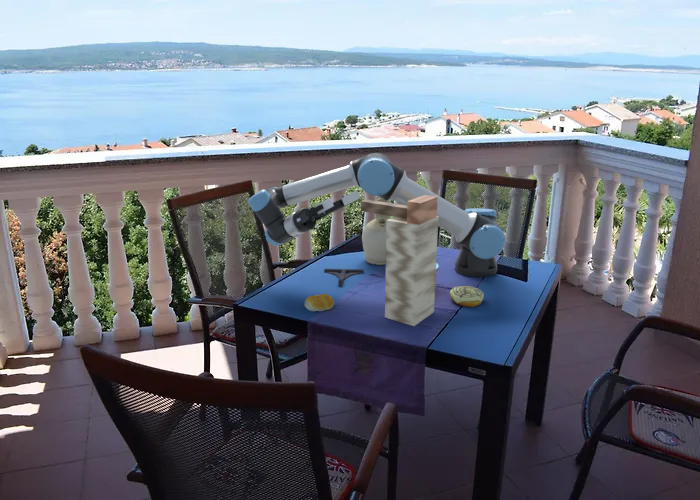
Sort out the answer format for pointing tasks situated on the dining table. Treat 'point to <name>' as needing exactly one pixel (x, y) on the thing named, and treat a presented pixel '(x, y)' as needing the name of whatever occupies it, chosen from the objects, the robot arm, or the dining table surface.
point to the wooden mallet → (405, 209)
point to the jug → (375, 239)
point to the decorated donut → (467, 296)
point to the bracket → (343, 273)
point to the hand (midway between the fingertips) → (345, 197)
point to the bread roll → (319, 302)
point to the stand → (410, 270)
